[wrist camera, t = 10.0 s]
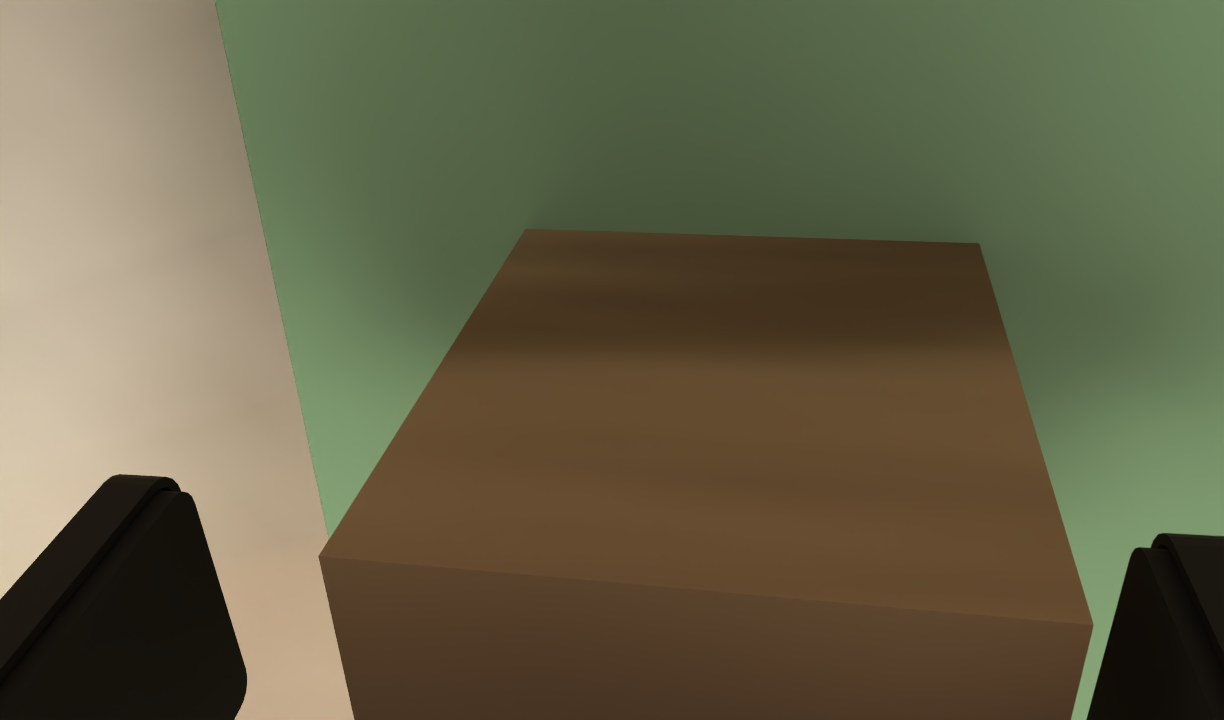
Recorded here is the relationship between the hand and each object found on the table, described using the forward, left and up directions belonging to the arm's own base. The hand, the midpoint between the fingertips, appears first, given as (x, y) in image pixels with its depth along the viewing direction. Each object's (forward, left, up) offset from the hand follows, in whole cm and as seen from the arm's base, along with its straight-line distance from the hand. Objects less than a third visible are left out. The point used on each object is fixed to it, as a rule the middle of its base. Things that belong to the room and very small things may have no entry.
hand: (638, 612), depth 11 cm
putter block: (+1, +1, -5) cm, 5 cm away
